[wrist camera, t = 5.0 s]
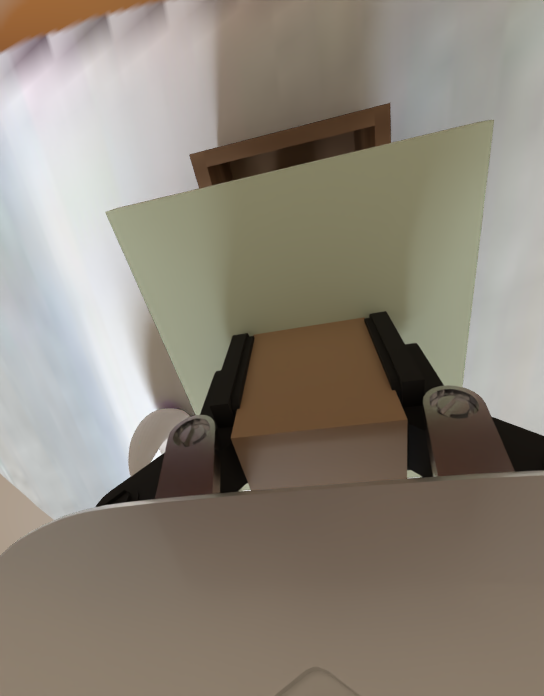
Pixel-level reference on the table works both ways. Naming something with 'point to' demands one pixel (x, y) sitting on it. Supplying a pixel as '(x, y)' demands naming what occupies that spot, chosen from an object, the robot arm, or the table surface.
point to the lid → (318, 295)
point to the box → (294, 146)
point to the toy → (152, 436)
